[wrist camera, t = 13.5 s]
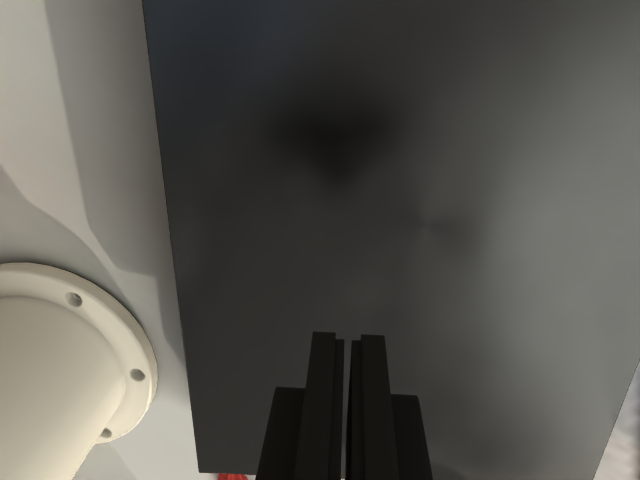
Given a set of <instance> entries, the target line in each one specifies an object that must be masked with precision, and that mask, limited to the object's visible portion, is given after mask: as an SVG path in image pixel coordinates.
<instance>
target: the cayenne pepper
mask: <svg viewBox="0 0 640 480" xmlns="http://www.w3.org/2000/svg"><path fill="white" fill-rule="evenodd" d="M218 480H247V478H246V477H245V475H244V474H221V473H219V477H218Z"/></svg>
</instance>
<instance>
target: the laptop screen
mask: <svg viewBox="0 0 640 480" xmlns="http://www.w3.org/2000/svg"><path fill="white" fill-rule="evenodd" d="M142 5H143V13H144V22H145V30H146V38H147V46H148V55H149V63H150V71H151V80H152V88H153V96H154V104H155V113H156V121H157V129H158V138H159V146H160V154H161V162H162V171H163V179H164V187H165V196H166V204H167V212H168V220H169V229H170V237H171V245H172V253H173V262H174V270H175V278H176V287H177V295H178V303H179V311H180V320H181V328H182V336H183V345H184V353H185V361H186V369H187V378H188V386H189V394H190V403H191V411H192V419H193V427H194V436H195V444H196V452H197V460H198V469H199V472H200V473H221V474H245V475H257V470H258V466H259V461H260V456H261V452H262V447H263V442H264V438H265V433H266V428H267V424H268V419H269V414H270V410H271V405H272V401H273V396H274V392H275V388H276V386H277V387H293V388H306V380H307V372H308V365H309V357H310V350H311V342H312V335H313V331H316V332H333V333H336V339H345V342H344V380H343V417H342V454H341V479H345V454H346V423H347V407H348V392H349V376H350V360H351V344H352V340H361V334H368V335H384V336H385V344H386V354H387V363H388V373H389V383H390V393H391V394H403V395H417V396H418V399H419V403H420V408H421V414H422V420H423V425H424V431H425V437H426V442H427V448H428V453H429V459H430V465H431V470H432V476H433V480H593V478H594V476H595V473H596V471H597V468H598V465H599V463H600V460H601V458H602V455H603V453H604V450H605V447H606V445H607V442H608V440H609V437H610V435H611V432H612V429H613V427H614V424H615V422H616V419H617V417H618V414H619V411H620V409H621V406H622V404H623V401H624V399H625V396H626V393H627V391H628V388H629V386H630V383H631V381H632V378H633V375H634V373H635V370H636V368H637V365H638V363H639V360H640V0H142Z"/></svg>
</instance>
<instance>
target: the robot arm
mask: <svg viewBox="0 0 640 480" xmlns="http://www.w3.org/2000/svg"><path fill="white" fill-rule="evenodd" d="M344 342H345V339H336V333H333V332H316V331H313V335H312V342H311V350H310V357H309V365H308V372H307V380H306V388H293V387H277V386H276V388H275V392H274V396H273V401H272V405H271V410H270V414H269V419H268V424H267V428H266V433H265V438H264V442H263V447H262V452H261V456H260V461H259V466H258V470H257V475H256V480H341V454H342V417H343V380H344ZM157 381H158V372H157V362H156V358H155V355H154V352H153V349H152V346H151V344H150V342H149V340H148V338H147V336H146V334H145V333H144V331H143V329H142V327H141V326H140V325H139V324H138V322H137V321H136V320H135V319H134V317H133V316H132V315H131V314H130V312H129V311H128V310H127V309H126V308H125V307H124V306H122V305H121V304H120V303H119V302H118V301H117V300H116V299H115V298H114V297H113V296H111V295H110V294H108V293H107V292H105V291H104V290H102V289H101V288H99V287H98V286H97V285H95V284H94V283H92V282H90V281H88V280H86V279H84V278H82V277H79V276H77V275H75V274H73V273H71V272H68V271H65V270H61V269H58V268H55V267H52V266H48V265H41V264H34V263H5V264H0V480H72V478H73V477H74V475H75V473H76V472H77V470H78V469H79V467H80V466H81V464H82V462H83V461H84V459H85V458H86V456H87V455H88V453H89V451H90V450H91V448H92V447H93V445H95V444H102V443H105V442H108V441H111V440H114V439H117V438H119V437H121V436H122V435H124V434H126V433H128V432H129V431H131V430H132V429H133V428H134V427H135V426H136V425H137V424H138V423H139V422H140V421H141V419H142V418H143V416H144V414H145V413H146V411H147V410H148V408H149V406H150V404H151V402H152V400H153V398H154V395H155V393H156V388H157ZM345 480H433V476H432V470H431V465H430V459H429V453H428V448H427V442H426V437H425V431H424V425H423V420H422V414H421V408H420V403H419V399H418V396H417V395H403V394H391V393H390V383H389V373H388V363H387V354H386V344H385V336H384V335H368V334H361V340H352V344H351V360H350V376H349V392H348V407H347V423H346V454H345Z"/></svg>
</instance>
